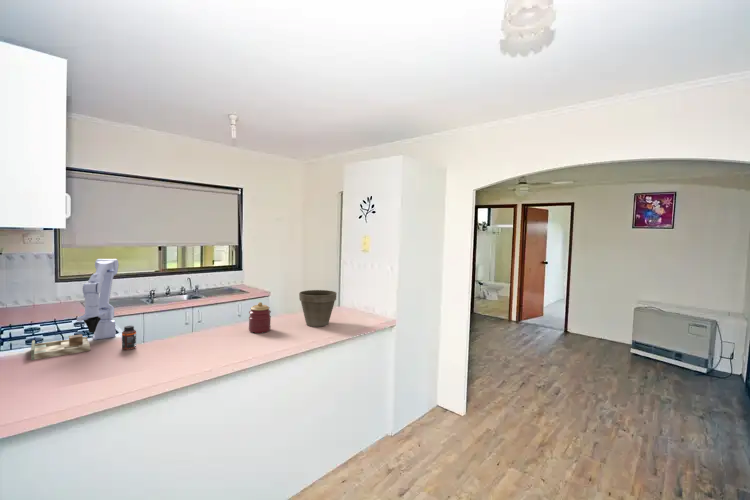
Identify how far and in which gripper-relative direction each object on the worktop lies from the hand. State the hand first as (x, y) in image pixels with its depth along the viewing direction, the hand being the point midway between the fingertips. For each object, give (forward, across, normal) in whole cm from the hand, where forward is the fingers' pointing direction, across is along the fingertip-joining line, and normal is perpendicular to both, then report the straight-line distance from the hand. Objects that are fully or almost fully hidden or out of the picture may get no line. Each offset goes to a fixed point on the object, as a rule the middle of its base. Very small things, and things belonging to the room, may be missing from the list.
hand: (92, 332), depth 183 cm
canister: (+7, -47, +68) cm, 83 cm away
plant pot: (+7, -71, +98) cm, 121 cm away
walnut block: (+5, +5, -4) cm, 8 cm away
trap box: (+7, +9, -7) cm, 13 cm away
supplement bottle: (+7, -1, +21) cm, 22 cm away
